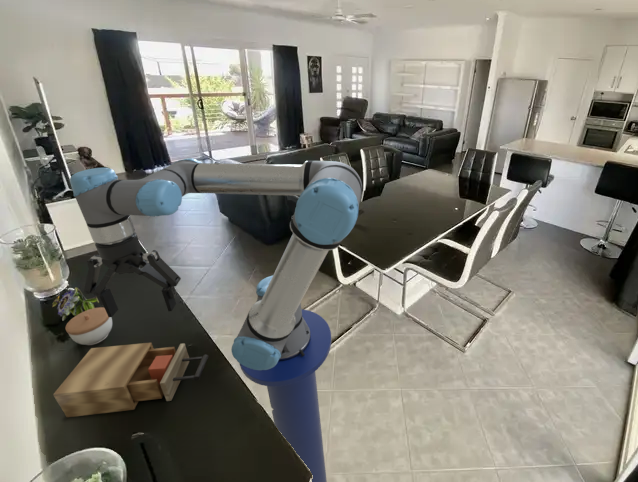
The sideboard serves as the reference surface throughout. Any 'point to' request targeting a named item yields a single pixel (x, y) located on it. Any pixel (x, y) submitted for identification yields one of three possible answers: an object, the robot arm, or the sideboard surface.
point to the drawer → (150, 389)
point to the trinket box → (89, 326)
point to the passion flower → (73, 303)
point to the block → (159, 367)
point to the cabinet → (101, 381)
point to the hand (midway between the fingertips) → (143, 310)
